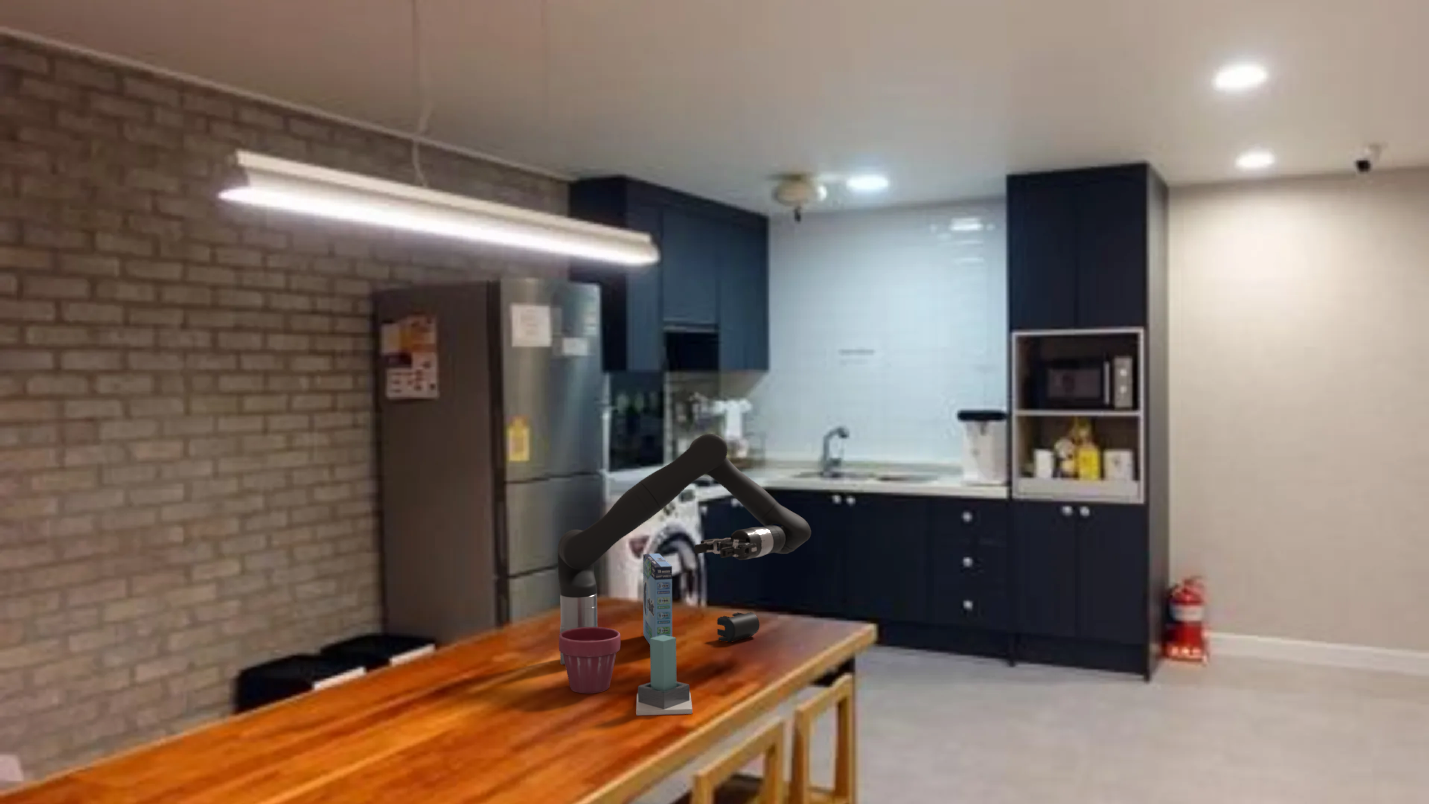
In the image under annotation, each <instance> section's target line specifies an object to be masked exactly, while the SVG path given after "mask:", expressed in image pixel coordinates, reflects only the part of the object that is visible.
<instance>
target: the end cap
mask: <svg viewBox="0 0 1429 804" xmlns="http://www.w3.org/2000/svg"><path fill="white" fill-rule="evenodd" d="M731 615H732V616H727V615H723V616H719V617H717V620H716V623H717V625H719V626H723V627H724V629H721V628H717V633H716V634H717V635H718V636H719V637H717V638H718V641H720V640H721V642H724V641H728V642H729V643H732V641H733V642H736V641H739V640H743V639H747V638H752V637H753V636H755V635H756V634H757V633H758V632H759V630H760V619H759V617H758V615H756V613H754V612H752V611H750V612H747V613H742V612H736V613H733V614H731ZM728 642H727V643H728Z"/></svg>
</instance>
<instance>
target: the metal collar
mask: <svg viewBox="0 0 1429 804" xmlns="http://www.w3.org/2000/svg"><path fill="white" fill-rule="evenodd" d="M676 685H677V687H675V688H672V689H669V690H666V691H661V690H657V689H654V688H651V681H650V682H647V683H643V684H640V685H638V686H637V694H638V702H640V703H644V704H647V705H651V706H654V707H658V708H661V709H667V708H670V707H672V706H675V705H678V704H681V703H684V702H687V701H689V700H690V695H691V692H690V690H691V689H690V684H688V683H684V682H680V681H677V680H676Z"/></svg>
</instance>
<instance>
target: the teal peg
mask: <svg viewBox="0 0 1429 804" xmlns="http://www.w3.org/2000/svg"><path fill="white" fill-rule="evenodd" d="M649 646H650V647H649V650H650V651H649V654H650V682H651V688H654V689H657V690H661V691H666V690H669V689H672V688H675V687H677V685H676V681H677V638H676V637H675V636H672V637H670V636H666V635H661V636H657V637H654V638H650V644H649Z"/></svg>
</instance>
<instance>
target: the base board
mask: <svg viewBox="0 0 1429 804" xmlns="http://www.w3.org/2000/svg"><path fill="white" fill-rule="evenodd" d="M635 709H636V711H635V713H636V716H657V715H658V716H660V715H663V716H664V715H685V714H686V715H687V714H688V715H690V714H691V715H692V714H693V703H692V697H691V694H690V700H689V701H687V702H684V703H681V704H678V705H675V706H672V707H670V708H667V709H661V708H658V707H654V706H651V705H647V704H644V703H640V702H638V693H636V708H635Z"/></svg>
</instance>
